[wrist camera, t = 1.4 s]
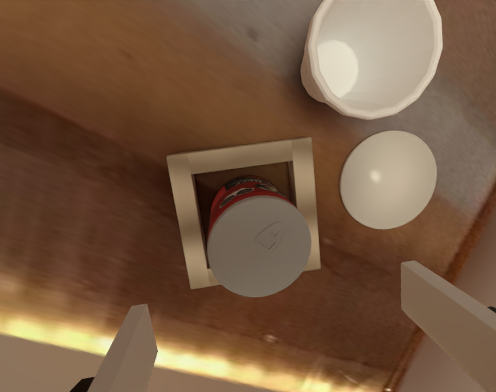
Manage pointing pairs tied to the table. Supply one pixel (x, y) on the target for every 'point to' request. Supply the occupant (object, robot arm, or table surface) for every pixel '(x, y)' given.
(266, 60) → the table surface
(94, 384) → the robot arm
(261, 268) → the canned food
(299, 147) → the holder
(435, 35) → the cup
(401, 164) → the coaster
